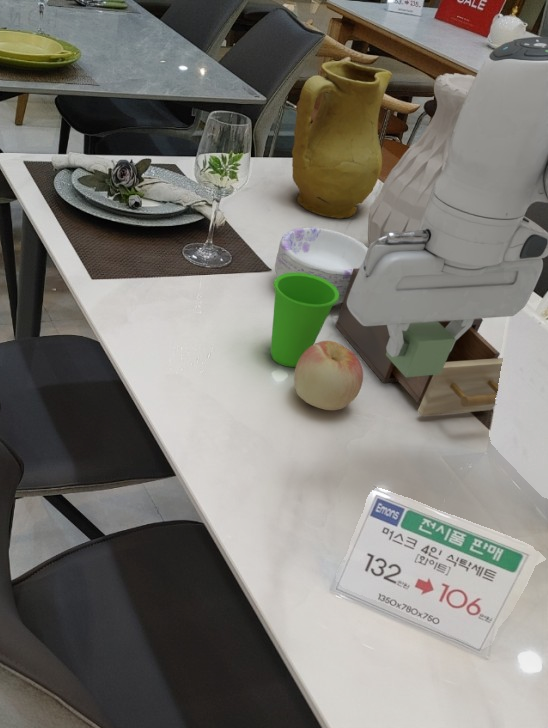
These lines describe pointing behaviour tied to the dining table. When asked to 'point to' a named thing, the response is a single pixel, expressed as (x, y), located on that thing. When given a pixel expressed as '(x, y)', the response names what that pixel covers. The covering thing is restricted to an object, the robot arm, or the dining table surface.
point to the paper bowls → (321, 256)
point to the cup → (299, 314)
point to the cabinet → (372, 338)
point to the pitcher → (338, 138)
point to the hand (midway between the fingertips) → (418, 351)
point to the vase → (419, 164)
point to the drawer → (458, 379)
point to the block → (424, 349)
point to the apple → (328, 376)
